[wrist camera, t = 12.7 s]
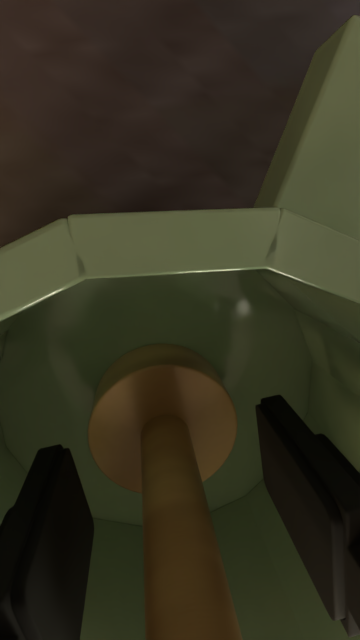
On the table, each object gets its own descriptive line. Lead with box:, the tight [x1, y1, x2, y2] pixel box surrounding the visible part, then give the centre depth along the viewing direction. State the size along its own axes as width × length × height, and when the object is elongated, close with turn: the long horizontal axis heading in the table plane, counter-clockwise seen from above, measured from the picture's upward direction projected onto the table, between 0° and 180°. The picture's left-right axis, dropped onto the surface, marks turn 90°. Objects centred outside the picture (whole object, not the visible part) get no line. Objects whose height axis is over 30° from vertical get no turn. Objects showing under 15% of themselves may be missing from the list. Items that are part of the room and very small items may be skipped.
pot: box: [0, 15, 360, 640], centre depth 10 cm, size 14×19×8 cm
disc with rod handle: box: [88, 344, 243, 640], centre depth 8 cm, size 5×5×9 cm
